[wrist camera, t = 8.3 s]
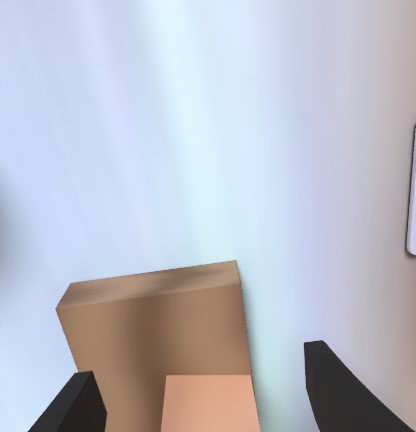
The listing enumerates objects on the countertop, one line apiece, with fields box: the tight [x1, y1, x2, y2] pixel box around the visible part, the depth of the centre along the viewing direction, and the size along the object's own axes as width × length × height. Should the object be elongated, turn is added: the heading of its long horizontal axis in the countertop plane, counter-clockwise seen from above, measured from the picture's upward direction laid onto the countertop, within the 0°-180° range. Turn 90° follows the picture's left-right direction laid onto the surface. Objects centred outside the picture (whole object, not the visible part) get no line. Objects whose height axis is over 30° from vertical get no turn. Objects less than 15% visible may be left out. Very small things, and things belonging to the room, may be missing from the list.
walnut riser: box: [56, 260, 255, 432], centre depth 23 cm, size 10×14×2 cm
